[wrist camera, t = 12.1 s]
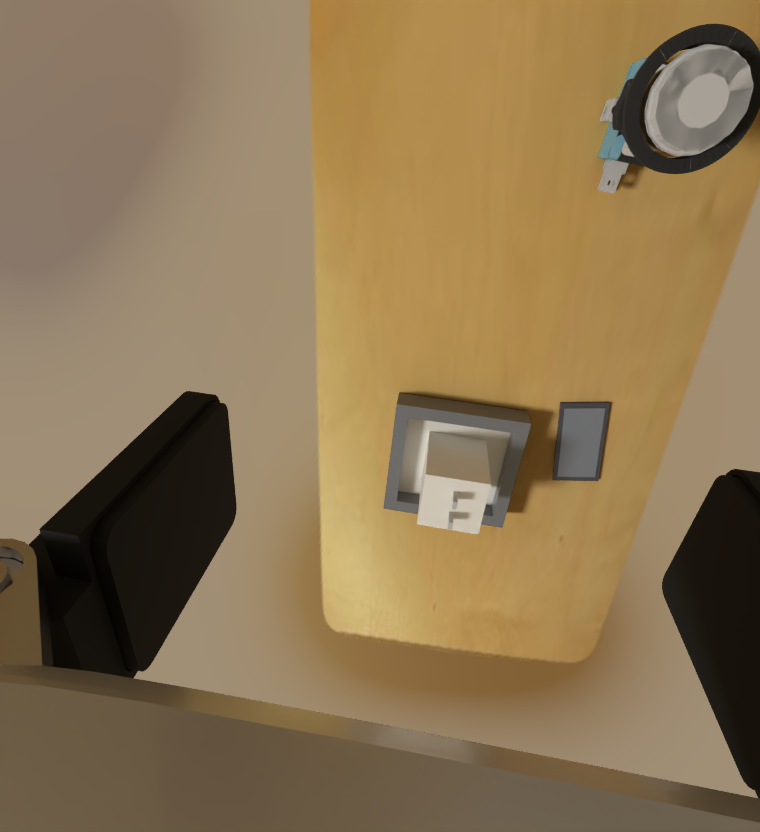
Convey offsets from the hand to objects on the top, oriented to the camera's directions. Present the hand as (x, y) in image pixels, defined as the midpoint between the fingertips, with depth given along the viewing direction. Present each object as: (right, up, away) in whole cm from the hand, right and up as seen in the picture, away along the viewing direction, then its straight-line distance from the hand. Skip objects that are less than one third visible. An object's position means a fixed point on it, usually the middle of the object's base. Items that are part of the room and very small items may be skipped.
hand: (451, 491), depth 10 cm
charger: (+5, -2, +31) cm, 31 cm away
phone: (+14, 0, +30) cm, 33 cm away
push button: (+13, +18, +19) cm, 30 cm away
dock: (+5, -2, +31) cm, 32 cm away
